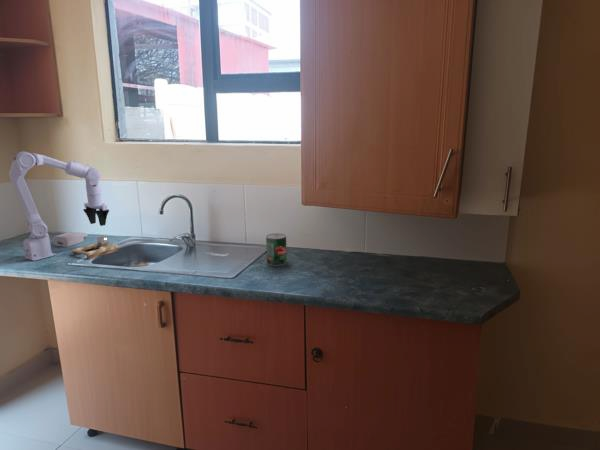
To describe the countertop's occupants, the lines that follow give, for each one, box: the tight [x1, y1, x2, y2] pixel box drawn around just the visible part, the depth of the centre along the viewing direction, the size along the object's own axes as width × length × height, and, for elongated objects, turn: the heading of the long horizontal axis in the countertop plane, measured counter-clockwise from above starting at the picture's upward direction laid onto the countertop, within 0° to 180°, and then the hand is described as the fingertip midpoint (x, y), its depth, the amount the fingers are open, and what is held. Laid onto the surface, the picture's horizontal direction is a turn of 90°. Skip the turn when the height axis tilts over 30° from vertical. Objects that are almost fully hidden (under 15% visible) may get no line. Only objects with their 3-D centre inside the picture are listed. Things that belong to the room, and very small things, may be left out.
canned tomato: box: [265, 232, 288, 267], centre depth 173 cm, size 8×8×11 cm
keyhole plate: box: [71, 242, 120, 260], centre depth 192 cm, size 14×12×2 cm
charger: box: [52, 231, 89, 248], centre depth 210 cm, size 5×9×15 cm
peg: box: [96, 236, 109, 247], centre depth 195 cm, size 5×5×6 cm
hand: (97, 224), depth 200 cm, fingers open, 7 cm apart
